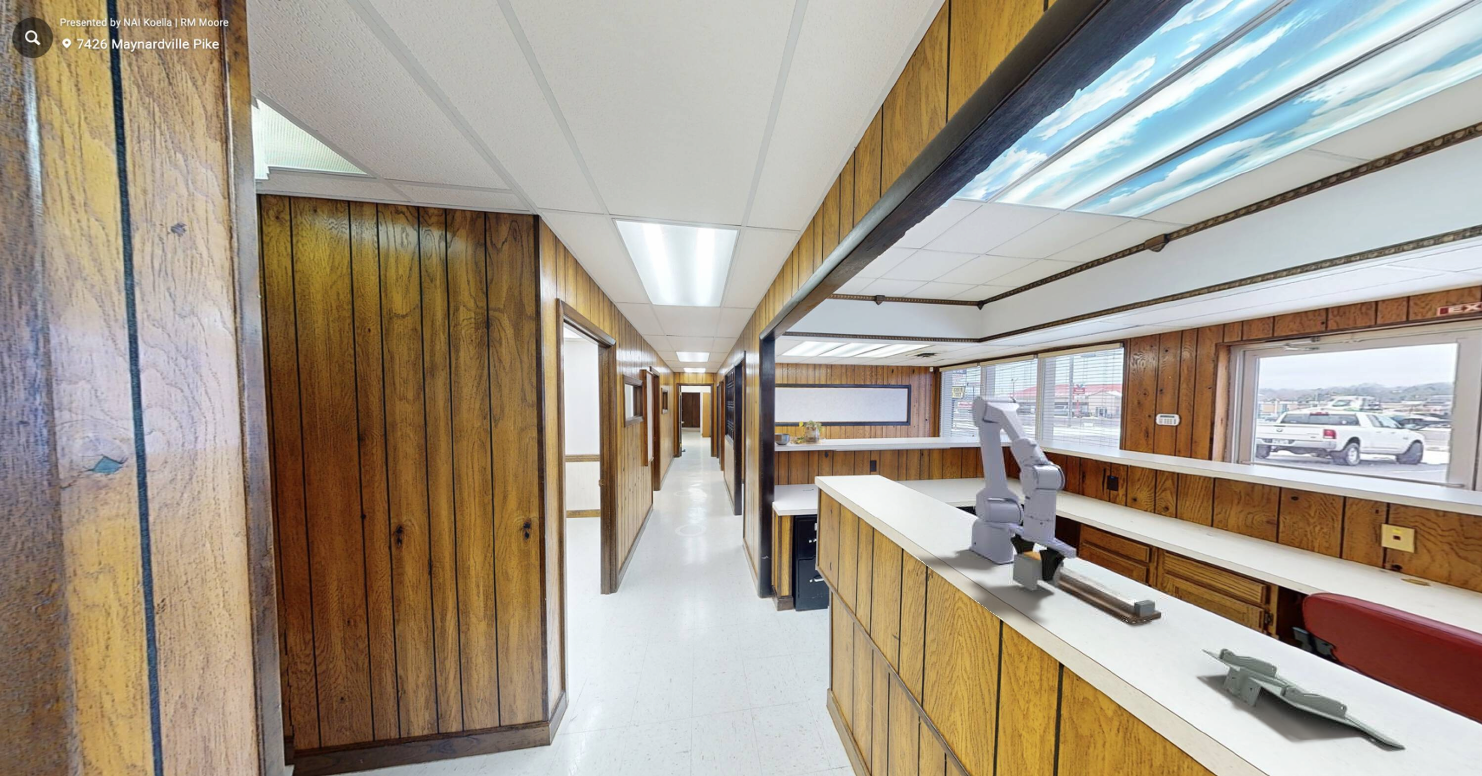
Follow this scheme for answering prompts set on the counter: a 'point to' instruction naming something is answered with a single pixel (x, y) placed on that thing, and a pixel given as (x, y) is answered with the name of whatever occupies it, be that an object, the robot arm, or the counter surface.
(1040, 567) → the block
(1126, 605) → the din rail
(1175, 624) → the counter surface
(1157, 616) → the mounting plate
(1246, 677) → the metal bracket
